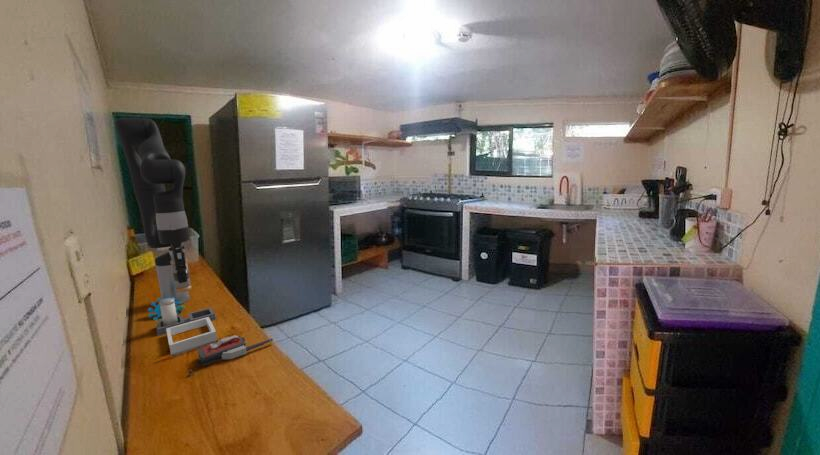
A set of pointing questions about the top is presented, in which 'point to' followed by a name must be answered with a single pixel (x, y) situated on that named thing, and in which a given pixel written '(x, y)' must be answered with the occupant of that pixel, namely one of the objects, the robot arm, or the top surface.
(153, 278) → the top surface
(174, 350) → the parts tray
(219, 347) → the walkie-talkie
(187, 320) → the fuse block
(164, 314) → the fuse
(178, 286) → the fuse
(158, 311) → the gear
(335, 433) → the top surface
